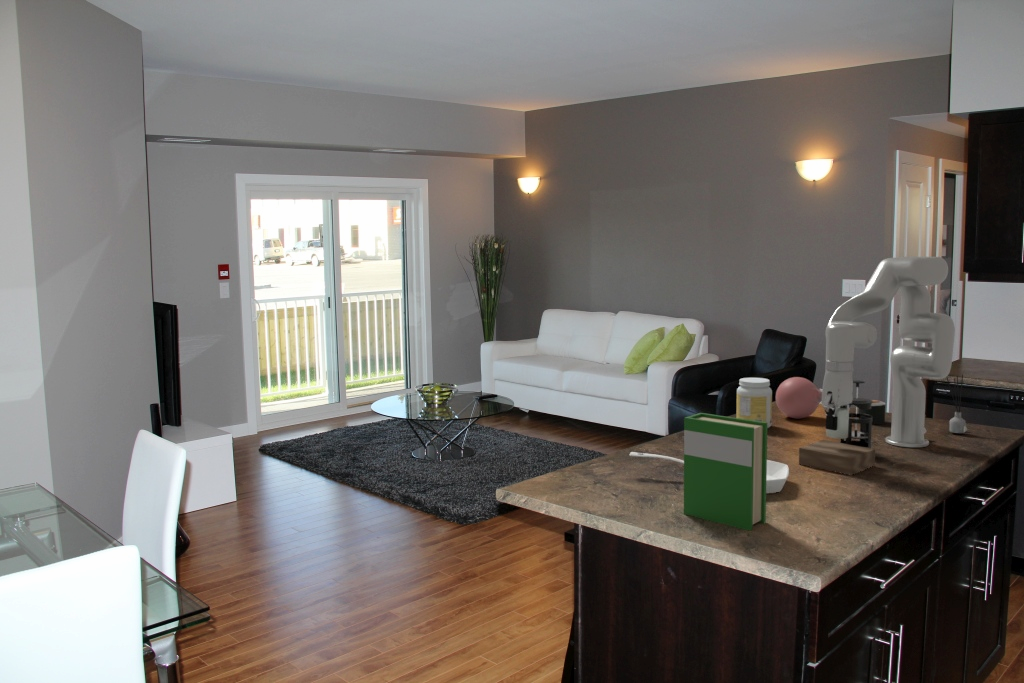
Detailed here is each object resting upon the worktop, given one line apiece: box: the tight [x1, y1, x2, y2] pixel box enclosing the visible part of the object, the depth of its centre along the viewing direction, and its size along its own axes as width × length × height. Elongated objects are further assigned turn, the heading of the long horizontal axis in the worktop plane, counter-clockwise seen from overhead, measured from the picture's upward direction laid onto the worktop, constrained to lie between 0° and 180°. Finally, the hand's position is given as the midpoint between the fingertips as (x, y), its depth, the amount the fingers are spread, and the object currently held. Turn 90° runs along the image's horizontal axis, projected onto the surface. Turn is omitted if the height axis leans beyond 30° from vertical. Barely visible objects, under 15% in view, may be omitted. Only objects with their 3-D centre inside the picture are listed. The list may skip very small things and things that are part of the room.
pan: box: [629, 451, 790, 495], centre depth 224 cm, size 28×43×7 cm, turn 70°
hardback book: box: [683, 412, 768, 532], centre depth 192 cm, size 18×7×24 cm, turn 46°
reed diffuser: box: [945, 374, 968, 434], centre depth 271 cm, size 10×7×20 cm
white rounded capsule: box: [825, 407, 850, 440], centre depth 235 cm, size 6×6×8 cm
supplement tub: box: [735, 377, 773, 429], centre depth 287 cm, size 12×12×17 cm
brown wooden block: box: [798, 439, 876, 476], centre depth 236 cm, size 14×16×5 cm
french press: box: [839, 379, 873, 449], centre depth 247 cm, size 12×9×23 cm
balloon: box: [775, 376, 822, 420], centre depth 297 cm, size 15×20×15 cm
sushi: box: [858, 399, 886, 425], centre depth 290 cm, size 8×8×8 cm
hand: (837, 427), depth 235 cm, fingers closed on white rounded capsule, 6 cm apart
